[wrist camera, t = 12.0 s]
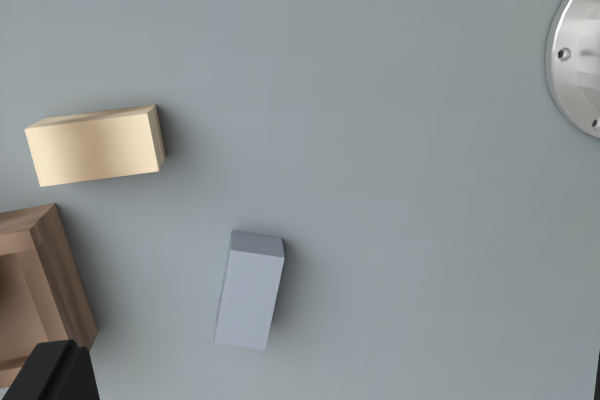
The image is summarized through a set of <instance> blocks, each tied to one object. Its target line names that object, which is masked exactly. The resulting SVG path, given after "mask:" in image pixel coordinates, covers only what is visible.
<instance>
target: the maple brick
mask: <svg viewBox="0 0 600 400" xmlns="http://www.w3.org/2000/svg"><path fill="white" fill-rule="evenodd" d="M25 132H26V136H27V140H28V143H29V147H30V151H31V154H32V158H33V161H34V165H35V169H36V172H37V176H38V180H39V183H40V187H42V186H50V185H57V184H65V183H73V182H80V181H88V180H96V179H103V178H111V177H119V176H126V175H134V174H142V173H149V172H157V171H159V170H160V168H161V166H162V164H163V162H164V161H165V159H166V155H165V149H164V144H163V139H162V134H161V129H160V124H159V119H158V113H157V108H156V104H155V105H147V106H139V107H131V108H123V109H115V110H107V111H99V112H91V113H83V114H75V115H67V116H59V117H51V118H44V119H42V120H40V121H38V122H36V123H34V124H33V125H31V126H29V127H27V128H25Z"/></svg>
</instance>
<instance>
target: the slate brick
mask: <svg viewBox="0 0 600 400" xmlns="http://www.w3.org/2000/svg"><path fill="white" fill-rule="evenodd" d="M284 259H285V257H284V250H283V244H282V238H279V237H273V236H266V235H259V234H253V233H246V232H240V231H233V230H232V232H231V237H230V243H229V249H228V254H227V260H226V266H225V272H224V277H223V283H222V289H221V294H220V300H219V306H218V311H217V317H216V327H215V338H214V344H216V345H224V346H232V347H241V348H249V349H257V350H265V349H266V344H267V340H268V335H269V330H270V325H271V321H272V316H273V311H274V306H275V301H276V297H277V292H278V287H279V282H280V278H281V273H282V268H283V263H284Z"/></svg>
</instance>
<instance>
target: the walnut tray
mask: <svg viewBox="0 0 600 400" xmlns="http://www.w3.org/2000/svg"><path fill="white" fill-rule="evenodd" d="M97 334H98V330H97V327H96V324H95V321H94V318H93V315H92V312H91V309H90V306H89V303H88V300H87V297H86V294H85V291H84V288H83V285H82V282H81V279H80V276H79V273H78V270H77V267H76V264H75V261H74V258H73V255H72V252H71V249H70V246H69V243H68V240H67V237H66V234H65V231H64V228H63V225H62V222H61V219H60V216H59V213H58V210H57V207H56V204H55V203H53V204H48V205H42V206H37V207H32V208H26V209H21V210H16V211H10V212H5V213H0V388H4V387H9V386H11V384H12V383H13V381H14V380H15V378H16V376H17V375H18V373H19V371H20V370H21V368H22V367H23V365H24V363H25V362H26V360H27V359H28V357H29V355H30V354H31V352H32V350H33V349H34V347H35V346H36V345H37V344H38V343H41V342H51V341H60V340H69V339H73V340H75V342H76V343H77V345H78V347H82V346H85V347H87V349H88V351H89V352H90V349H91V347H92V345H93V343H94V341H95V338H96V336H97Z"/></svg>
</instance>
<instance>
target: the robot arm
mask: <svg viewBox="0 0 600 400" xmlns="http://www.w3.org/2000/svg"><path fill="white" fill-rule="evenodd" d="M559 51H560V55H559V56H558V52H559ZM545 67H546V79H547V82H548V86H549V90H550V93H551V96H552V98H553V100H554V102H555V104H556V106H557V108H558V109H559V111H560V112H561V113H562V114H563V115H564V117H565V118H566V119H567V120H568V121H569V122H570V123H571V124H573V125H574V126H575V127H576V128H578V129H579V130H580V131H582V132H585V133H587V134H589V135H591V136H593V137H596V138H599V139H600V0H563V1H562V3H561V5H560V7H559V9H558V11H557V13H556V15H555V17H554V19H553V22H552V25H551V29H550V32H549V36H548V39H547V46H546V55H545ZM593 121H594V122H593ZM2 400H100V398H99V394H98V389H97V385H96V380H95V376H94V372H93V367H92V363H91V358H90V354H89V351H88V349H87V347H85V346H82V347H78V345H77V343H76V342H75V340H73V339H69V340H60V341H51V342H41V343H38V344H37V345H36V346H35V347H34V349H33V350H32V352H31V354H30V355H29V357H28V359H27V360H26V362H25V363H24V365H23V367H22V368H21V370H20V371H19V373H18V375H17V376H16V378H15V380H14V381H13V383H12V384H11V386H10V388H9V389H8V391H7V392H6V394H5V396H4V397H3V399H2ZM594 400H600V353H599V361H598V369H597V378H596V386H595V394H594Z"/></svg>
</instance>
